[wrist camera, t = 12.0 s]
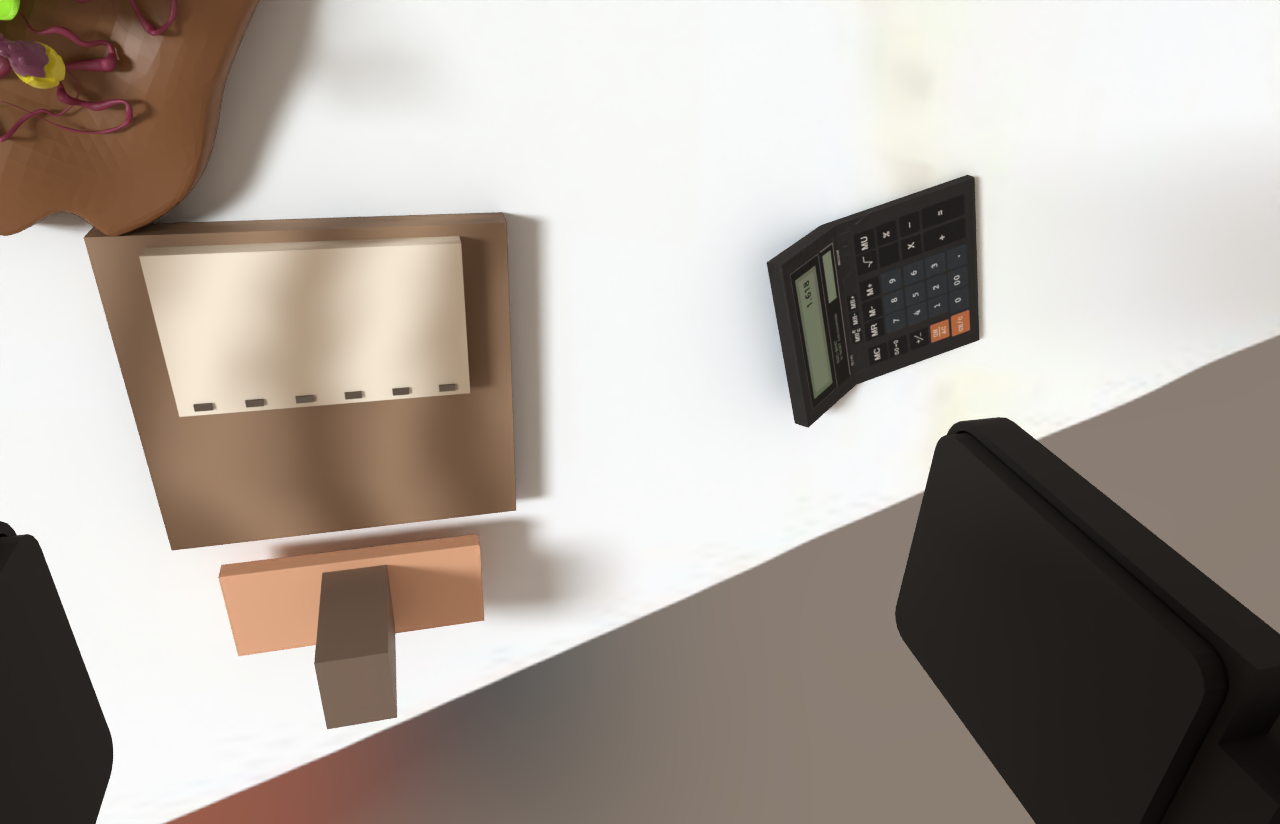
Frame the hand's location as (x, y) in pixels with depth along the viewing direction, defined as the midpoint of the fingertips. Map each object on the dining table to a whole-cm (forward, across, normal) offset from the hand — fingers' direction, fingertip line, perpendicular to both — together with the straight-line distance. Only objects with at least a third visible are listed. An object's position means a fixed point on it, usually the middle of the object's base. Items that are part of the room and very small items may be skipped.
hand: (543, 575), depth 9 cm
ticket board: (+30, +5, +12) cm, 33 cm away
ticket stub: (+28, +5, +23) cm, 37 cm away
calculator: (+31, -22, +10) cm, 39 cm away
